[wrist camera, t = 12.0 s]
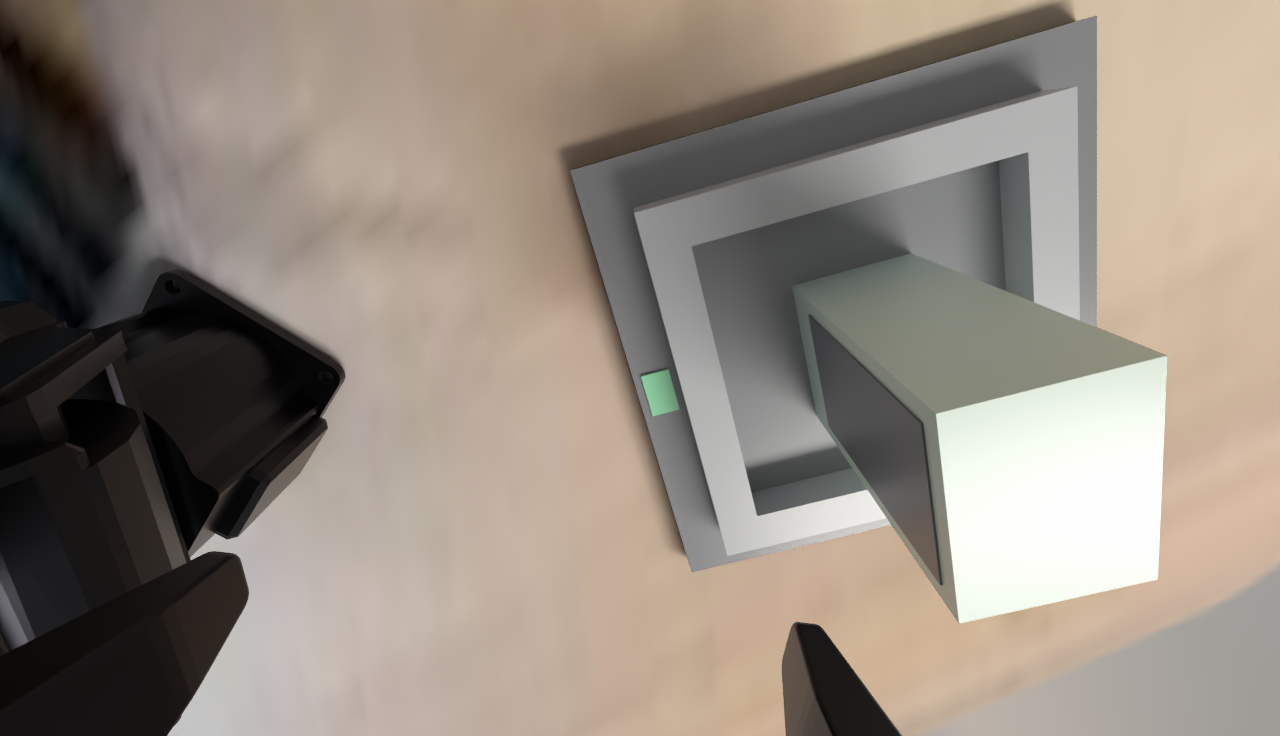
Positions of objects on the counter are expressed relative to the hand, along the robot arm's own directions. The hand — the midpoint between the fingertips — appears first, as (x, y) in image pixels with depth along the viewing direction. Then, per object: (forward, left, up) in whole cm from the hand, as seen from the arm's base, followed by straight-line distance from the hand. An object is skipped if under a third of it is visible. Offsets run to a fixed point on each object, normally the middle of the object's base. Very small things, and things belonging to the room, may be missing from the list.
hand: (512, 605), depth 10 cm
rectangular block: (+8, +6, -12) cm, 16 cm away
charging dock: (+8, +6, -13) cm, 16 cm away
